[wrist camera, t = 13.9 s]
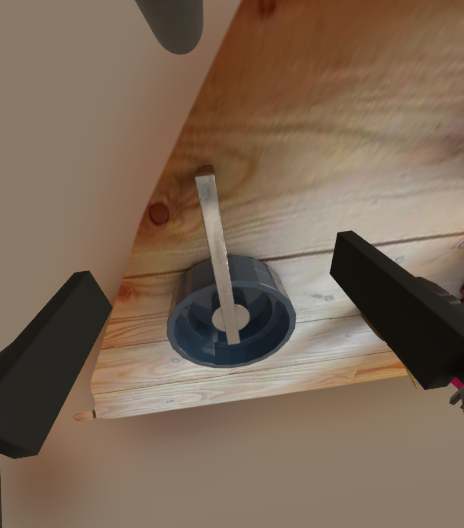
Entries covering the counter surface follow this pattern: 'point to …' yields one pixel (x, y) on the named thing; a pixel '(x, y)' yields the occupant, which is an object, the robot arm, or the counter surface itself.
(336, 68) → the counter surface
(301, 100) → the counter surface
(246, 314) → the bent grey beam
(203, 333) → the bowl
